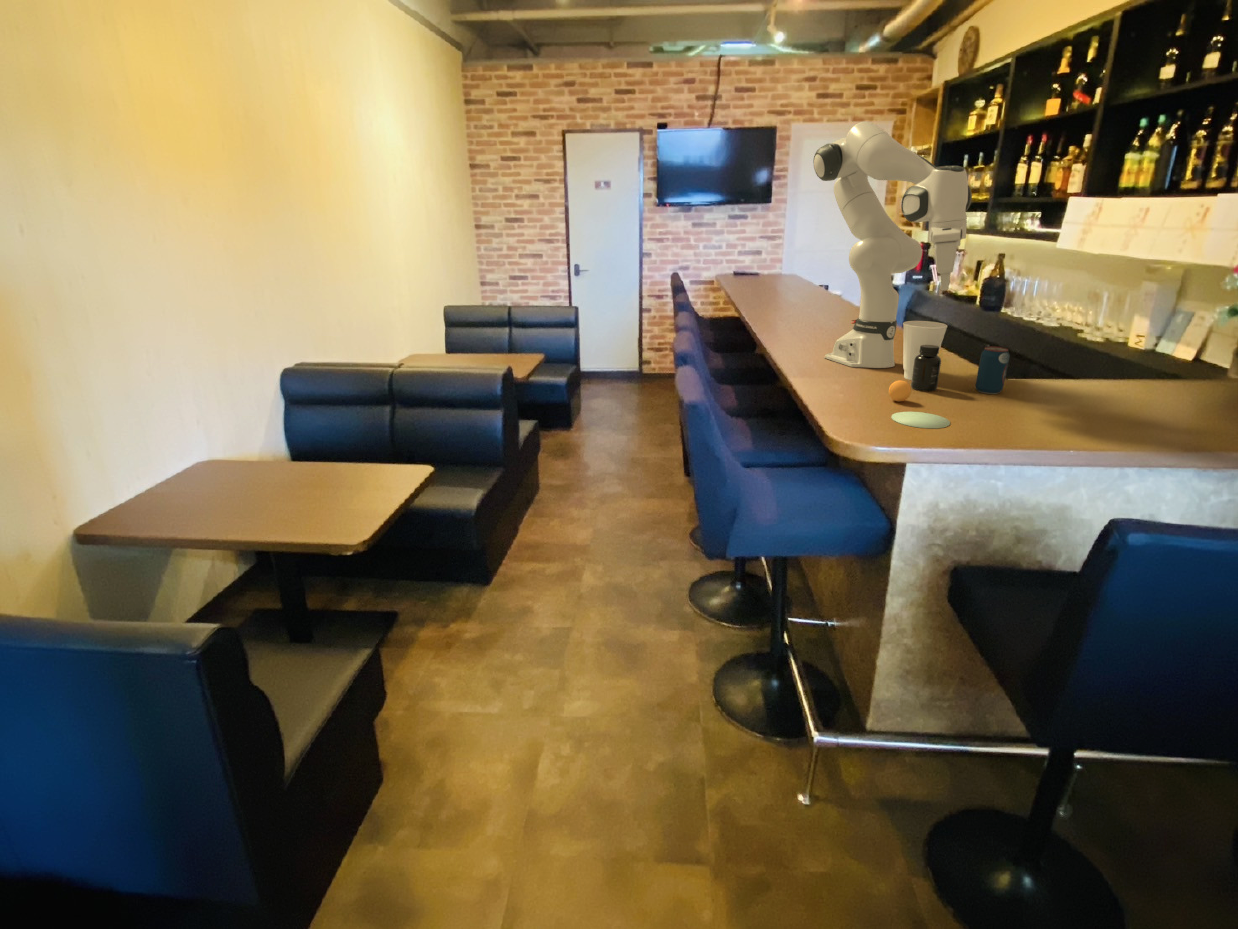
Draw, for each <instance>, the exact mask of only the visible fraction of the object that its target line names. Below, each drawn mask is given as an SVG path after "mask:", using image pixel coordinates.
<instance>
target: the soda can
mask: <svg viewBox="0 0 1238 929" xmlns="http://www.w3.org/2000/svg"><path fill="white" fill-rule="evenodd" d="M1010 356H1011V355H1010V352H1009V348H1006V347H1002V346H992V345H991V346H985V347H984V349H983V350H982V352H981V354H980V358H979V364H978V368H977V374H976V378H975V383H974V384H975V385H974V386H975V390H976V391H977V392H978V393H982V394H986V395H987V394H988V395H998V393H1001V392H1002V391H1003V389H1004V386H1005V382H1006V376H1007V372H1008V367H1009V362H1010Z"/></svg>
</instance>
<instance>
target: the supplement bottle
mask: <svg viewBox="0 0 1238 929" xmlns="http://www.w3.org/2000/svg"><path fill="white" fill-rule="evenodd" d="M919 352H920V354H919V355H917V356H916V357H915V360H914V367H913V374H912V380H911V384H910V387H911V390H912V389H913V390H914V391H915V390H916V391H920V392H934V391H936V390H937V389H938V386H939V385H938V384H939V378H940V372H941V366H942V358H941V357H940V356H939V353H940V350H939V346H935V345H921V346H920V351H919ZM937 354H938V355H937Z"/></svg>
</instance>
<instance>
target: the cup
mask: <svg viewBox="0 0 1238 929" xmlns="http://www.w3.org/2000/svg"><path fill="white" fill-rule="evenodd" d="M902 325H903V328H902V329H903V337H902V338H903V346H902V347H903V348H902V349H903V350H902V351H903V354H902V357H903V358H902V361H903V363H902V364H903V365H902V366H903V368H902V369H903V370H904V372H903V373H904V374H903V378H904V379H906V380H908V381H912V374H913V367H914V360H915V357H916V356H917V355H919V354H920V352H919V351H920V346H921V345H935V346H939V351H940V350H941V346H942V344H943V340H944V338H945V334H946V331H947V328H948V325H947V324H946V323H942V322H938V321H937V322H936V321H928V320H927V321H926V320H908V321H904V322H903V323H902ZM937 355H938V356H939V354H937Z"/></svg>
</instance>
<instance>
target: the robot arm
mask: <svg viewBox="0 0 1238 929" xmlns="http://www.w3.org/2000/svg"><path fill="white" fill-rule="evenodd" d="M812 162H813V168H814V172H815V175H816V176H817V178H819V179H820V180H821V181H823V182H832V181H834V184H833V193H834V197H835V200H836V204H837V206H838V208H839V210H840V212H841V213H840V214H841V215H842V217H843V219H844V220H845V223H846V224H847V226H848V228H849V230H850V232H851V234H852V235H853V236H854V237H855V238H856V239H858V241H857V242H855V243H854V244H853V246H852V247H851V248H850V251H849V255H848V262H849V266H850V268H851V269H852V271H853V272H854V273H855V274H856V276H857V279H858V282H859V286H860V303H859V304H860V307H859V315H858V317H857V319H852V320H851V323H850V324H851V325H853V327H852V329H851V330H849V331H848V332H847V333H845V334H844V335H842V336H841V337H839V338H837V340H835V342H834V346H833V349H832V352H830V353H829V352H828V353H827V354H824V359H827V360H830V361H833V362H836V363H838V364H842V365H844V366H848V367H850V368H868V369H869V368H870V369H886V368H887V369H889V368H892V367H895V365H896V363H895V356H894V353H895V352H894V340H895V335H896V331H897V326H898V324H897V323H898V321H897V316H898V315H897V314H898V308H899V300H900V294H899V293H898V291H897V290H896V289H895V288H894V286H893V282H892V275H893V274H903V273H905V272H908V271H911V270H913V269H915V268H916V267H917V266H918V265H919V263H920V262H921V260H922V256H923V249H922V245H921V243H920V242H919V241H918V240H917V239H915V238H912V237H911V236H910V235H908V234H907V233H906V232H904V231H903V230H902V229H901V228H900V227H899V225H898V224H896V223H895V222H894V221H893V219H892V218H891V217H890V216H889V215H888V214H887V212H886V211H885V208H884V207H883V205H882V203H881V201H880V200H879V198H878V197H877V194H876V192H875V191H874V189H873V187H872V186H871V185H870V182H869V179H868V178H869V177H870V178H872V179H874V180H877V181H897V182H899V181H900V182H901V181H902V182H907V183H908V182H909V183H912V184H915V185H912V186H911V185H910V186H909V187H908V188H907V190H905V192H904V193H903V196H902V200H901V204H900V207H901V212H902V215H903V217H904V218H905V219H906V220H907V221H908V222H911V223H912V222H913V223H924V222H928V237H927V238H928V240H927V241H928V242H929V243H932V244H933V247H932V248H933V249H934V258H935V266H936V272H937V274H940V290H941V291H948V290H949V287H950V283H951V282H950V281H951V273H952V272H953V271H954V269H955V268H954V267H955V263H956V255H957V250H958V247H961V240H964V239H965V240H966V238H967V228H968V227H967V224H968V223H967V222H968V216H967V213H966V212H967V211H968V209H969V208H970V206H971V204H972V199H973V193H972V191H971V190H972V189H971V188H970V186H969V182H968V180H969V179H968V173H967V170H966V169H965V168H964V167H963V166H960V165H942V166H936V165H935V164H933V163H932V162H930V161H929V160H928V159H927V158H924V157H923V156H922V155H920V154H918V153H917V152H913V150H910V149H909V148H908V147H905V146H904V145H903V144H902V143H899V142H898V141H897V140H896V139H895V138H893V137H892V136H891V135H890V134H889V133H888V132H887V131H886V130H884V129H882V128H881V127H880V126H878V125H876V124H874V123H873V122H870V121H860V122H858V123H856V124H854V125H853V126H852V127H851V128H850V129H849V131H848V132H847V134H846V136H845V137H842V138H839V139H837V140H834V141H833V142H831V143H825V144H824V145H823V146H821V147H819V148H818V149H817V150H816V151H815V153H814V156H813V161H812ZM836 179H837V180H836ZM835 180H836V181H835Z"/></svg>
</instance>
